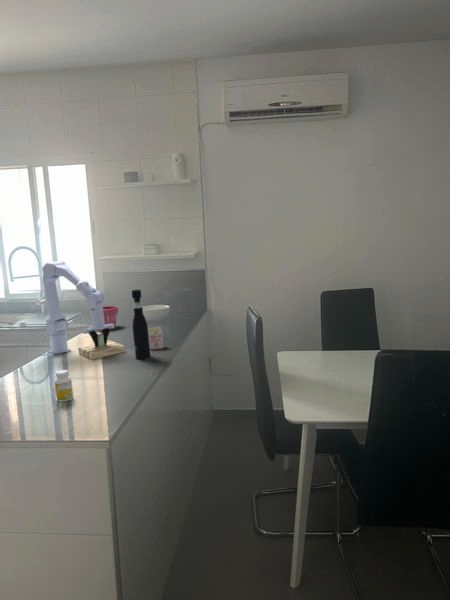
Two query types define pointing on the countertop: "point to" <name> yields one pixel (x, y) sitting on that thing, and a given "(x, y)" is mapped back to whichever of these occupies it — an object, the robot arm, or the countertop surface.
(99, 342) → the pin
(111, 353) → the pocket block
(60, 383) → the supplement bottle
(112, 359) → the countertop surface
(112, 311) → the plant pot
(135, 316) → the wine bottle
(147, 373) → the countertop surface
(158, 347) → the white pink printed box
